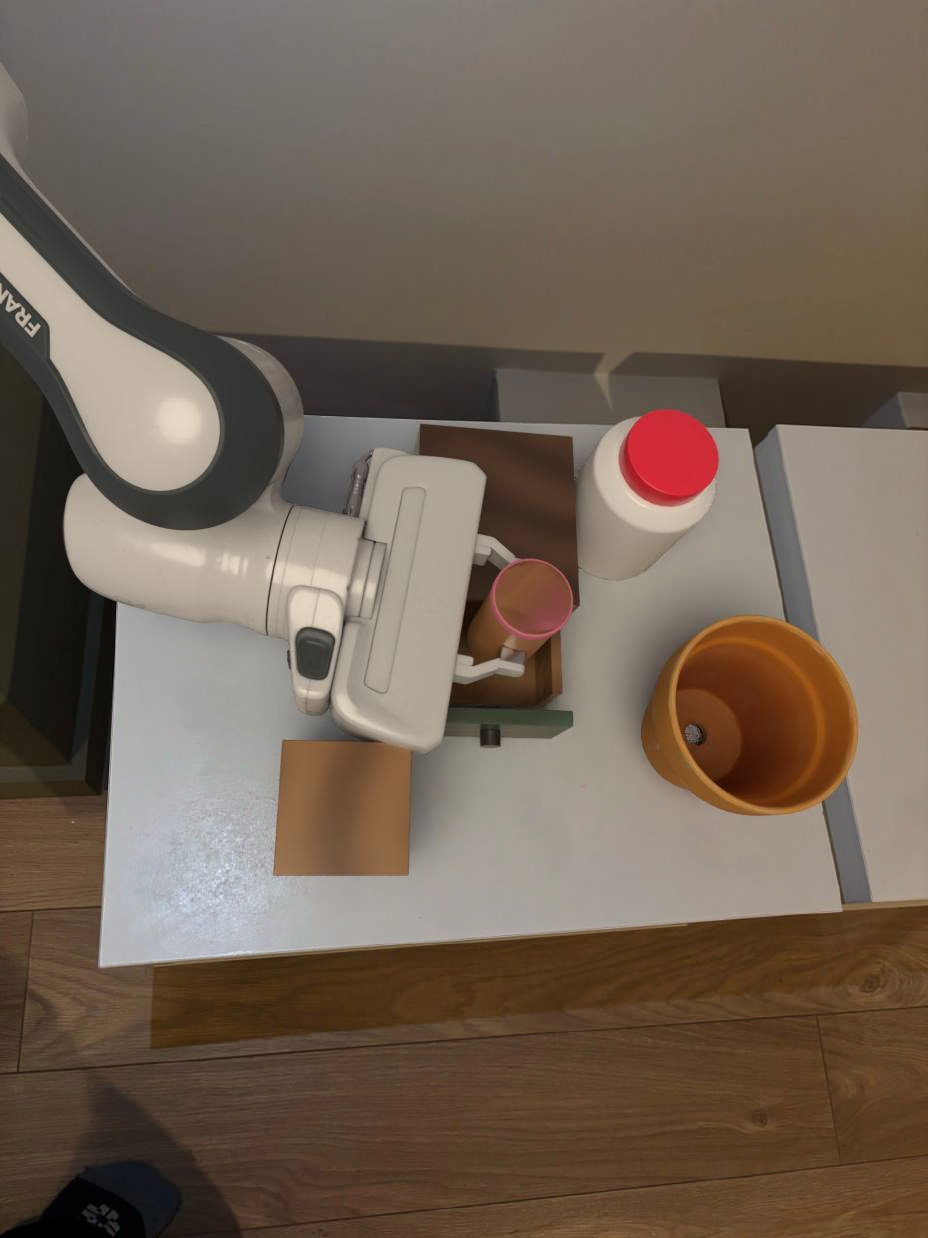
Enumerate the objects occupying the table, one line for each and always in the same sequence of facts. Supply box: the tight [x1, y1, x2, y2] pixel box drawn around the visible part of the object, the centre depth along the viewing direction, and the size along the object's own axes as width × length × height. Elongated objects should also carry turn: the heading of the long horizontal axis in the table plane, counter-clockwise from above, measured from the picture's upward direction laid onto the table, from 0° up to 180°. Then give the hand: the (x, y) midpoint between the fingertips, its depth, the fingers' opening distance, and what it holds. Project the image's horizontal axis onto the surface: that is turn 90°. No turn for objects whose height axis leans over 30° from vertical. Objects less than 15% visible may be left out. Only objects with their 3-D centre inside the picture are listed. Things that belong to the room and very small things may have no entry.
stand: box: [272, 739, 412, 877], centre depth 56 cm, size 8×8×14 cm
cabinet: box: [413, 423, 581, 615], centre depth 67 cm, size 15×13×8 cm
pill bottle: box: [574, 408, 720, 581], centre depth 67 cm, size 10×10×14 cm
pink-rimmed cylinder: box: [467, 559, 573, 664], centre depth 55 cm, size 5×5×10 cm
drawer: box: [443, 603, 574, 749], centre depth 64 cm, size 15×11×6 cm
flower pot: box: [640, 614, 859, 817], centre depth 63 cm, size 14×14×13 cm
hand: (529, 620), depth 55 cm, fingers closed on pink-rimmed cylinder, 5 cm apart
